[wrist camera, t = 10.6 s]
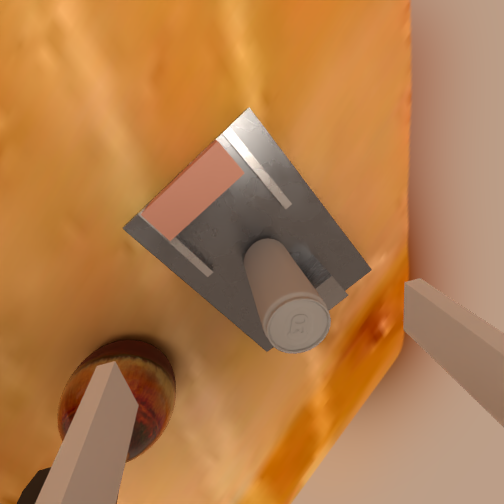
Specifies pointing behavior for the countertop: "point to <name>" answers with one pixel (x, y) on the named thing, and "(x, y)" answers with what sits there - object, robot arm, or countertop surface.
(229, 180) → the block
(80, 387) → the vase
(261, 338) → the grey vise base
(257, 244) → the beverage can
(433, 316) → the robot arm
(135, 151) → the countertop surface
